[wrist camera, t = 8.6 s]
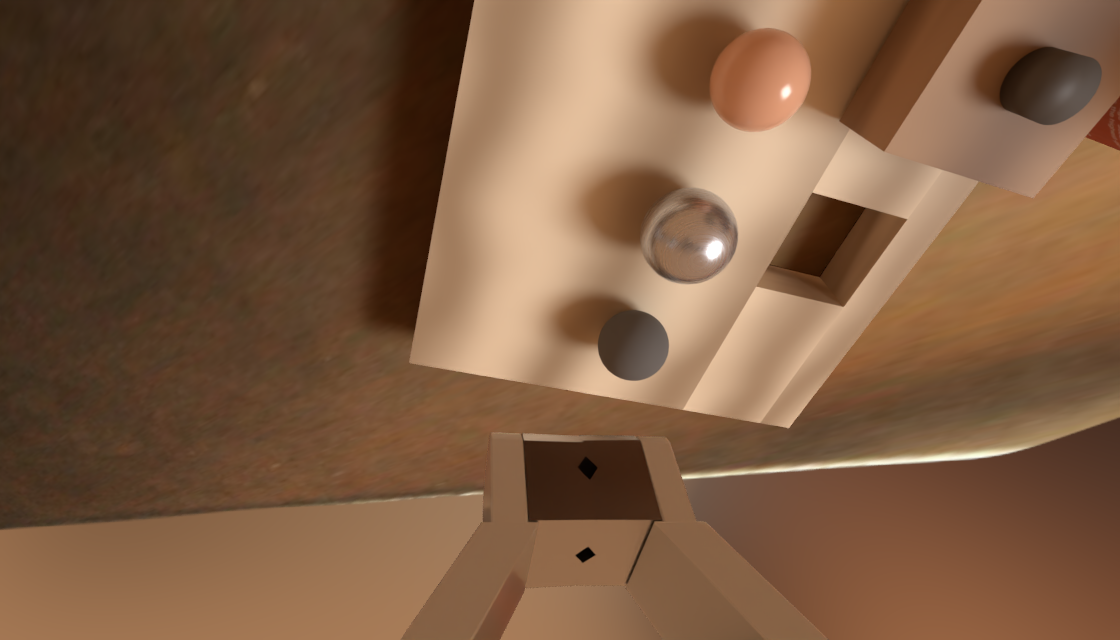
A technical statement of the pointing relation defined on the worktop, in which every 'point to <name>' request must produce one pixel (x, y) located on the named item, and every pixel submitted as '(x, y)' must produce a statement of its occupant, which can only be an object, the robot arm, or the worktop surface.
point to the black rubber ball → (633, 345)
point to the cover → (991, 86)
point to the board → (645, 176)
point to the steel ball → (689, 236)
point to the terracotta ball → (760, 80)
